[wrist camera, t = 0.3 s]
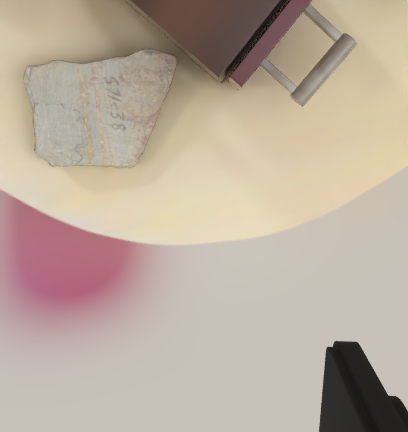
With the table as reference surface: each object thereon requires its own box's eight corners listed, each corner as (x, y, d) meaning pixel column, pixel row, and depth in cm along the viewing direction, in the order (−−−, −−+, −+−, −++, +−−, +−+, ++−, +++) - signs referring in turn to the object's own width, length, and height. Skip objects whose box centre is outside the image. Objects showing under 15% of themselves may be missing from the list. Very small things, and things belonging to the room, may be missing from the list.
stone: (179, 51, 36) (176, 47, 34) (185, 164, 39) (182, 168, 37) (25, 59, 37) (11, 55, 35) (41, 168, 40) (29, 173, 38)
